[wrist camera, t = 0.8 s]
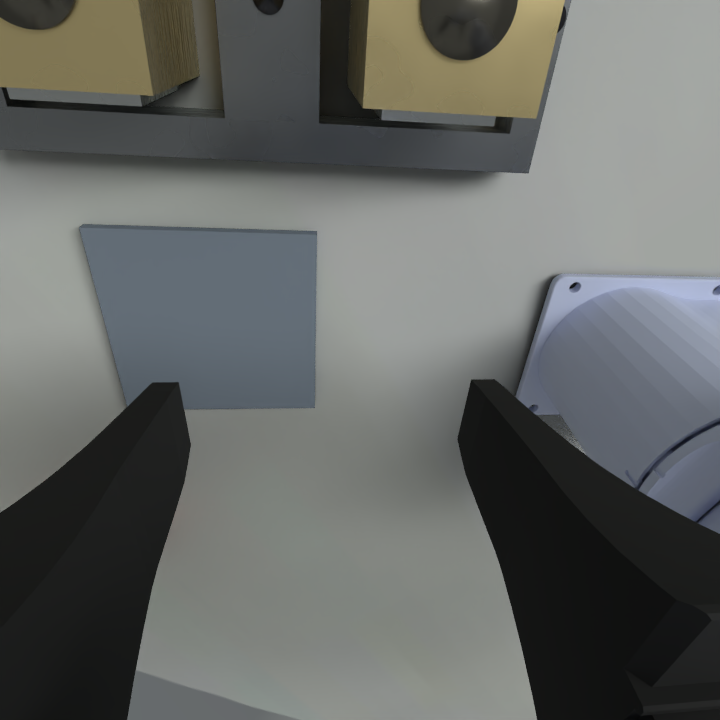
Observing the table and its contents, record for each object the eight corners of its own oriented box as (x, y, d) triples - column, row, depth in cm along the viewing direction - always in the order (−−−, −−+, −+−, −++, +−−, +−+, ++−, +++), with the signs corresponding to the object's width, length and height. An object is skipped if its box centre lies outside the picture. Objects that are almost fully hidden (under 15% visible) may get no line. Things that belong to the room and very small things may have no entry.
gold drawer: (503, -91, 15) (605, -154, 10) (469, 105, 18) (534, 136, 13) (355, -107, 14) (380, -182, 9) (346, 97, 17) (362, 127, 12)
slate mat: (316, 231, 20) (316, 234, 19) (314, 402, 25) (314, 407, 24) (83, 224, 19) (78, 227, 18) (130, 404, 24) (128, 409, 23)
